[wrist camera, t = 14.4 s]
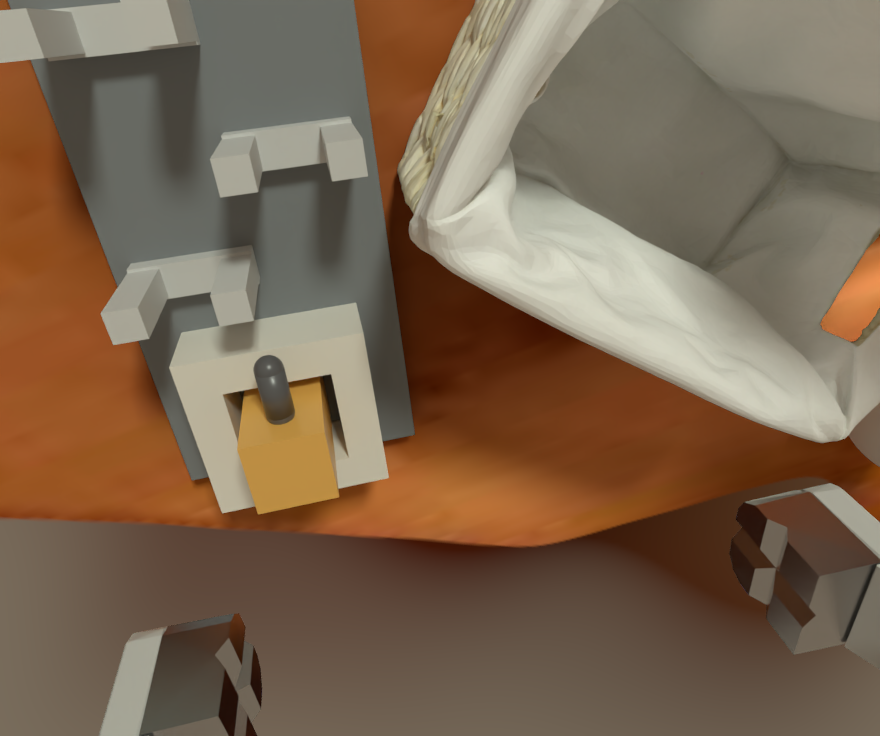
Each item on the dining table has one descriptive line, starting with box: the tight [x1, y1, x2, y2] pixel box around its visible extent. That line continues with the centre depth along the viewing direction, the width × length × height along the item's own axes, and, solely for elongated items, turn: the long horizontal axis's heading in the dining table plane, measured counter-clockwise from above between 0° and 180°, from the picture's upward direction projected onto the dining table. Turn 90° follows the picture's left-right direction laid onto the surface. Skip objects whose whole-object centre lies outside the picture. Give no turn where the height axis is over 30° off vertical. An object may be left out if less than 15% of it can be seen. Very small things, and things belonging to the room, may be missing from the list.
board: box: [0, 0, 415, 513], centre depth 28 cm, size 14×33×8 cm, turn 6°
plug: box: [237, 355, 339, 514], centre depth 32 cm, size 4×7×8 cm, turn 6°
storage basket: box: [397, 0, 880, 443], centre depth 28 cm, size 24×16×15 cm
